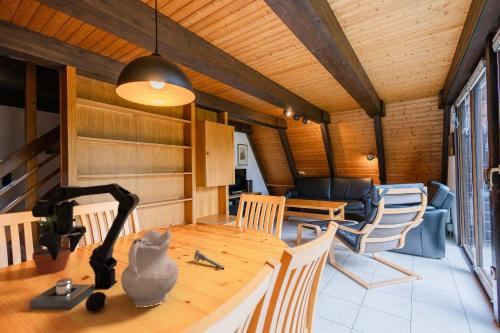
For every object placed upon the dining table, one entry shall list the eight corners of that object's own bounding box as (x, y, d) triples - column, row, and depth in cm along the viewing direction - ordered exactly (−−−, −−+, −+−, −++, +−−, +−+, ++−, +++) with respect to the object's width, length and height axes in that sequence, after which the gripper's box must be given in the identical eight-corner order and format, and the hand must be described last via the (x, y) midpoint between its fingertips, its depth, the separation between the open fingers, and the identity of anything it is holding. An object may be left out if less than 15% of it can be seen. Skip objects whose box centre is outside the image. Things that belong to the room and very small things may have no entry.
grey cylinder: (74, 297, 92) (74, 278, 92) (64, 303, 87) (65, 283, 88) (62, 296, 92) (62, 278, 92) (52, 303, 88) (52, 283, 88)
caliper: (194, 261, 130) (194, 249, 130) (195, 260, 131) (195, 248, 131) (224, 270, 118) (224, 257, 118) (225, 269, 119) (225, 256, 119)
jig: (93, 292, 95) (93, 283, 96) (70, 310, 83) (70, 300, 84) (58, 291, 96) (58, 283, 96) (29, 309, 84) (29, 299, 84)
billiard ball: (89, 307, 85) (90, 289, 86) (108, 305, 87) (109, 287, 87) (82, 317, 80) (82, 298, 80) (102, 314, 81) (103, 296, 81)
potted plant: (28, 279, 106) (29, 209, 106) (35, 267, 119) (36, 205, 119) (70, 272, 114) (71, 207, 114) (73, 261, 127) (74, 203, 127)
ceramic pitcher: (166, 321, 80) (174, 243, 80) (103, 318, 78) (111, 239, 79) (180, 289, 101) (185, 228, 102) (131, 286, 100) (137, 225, 100)
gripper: (62, 212, 109) (61, 248, 109) (23, 221, 91) (22, 264, 90) (87, 213, 109) (86, 248, 109) (53, 222, 91) (52, 264, 90)
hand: (63, 255), depth 100 cm, fingers open, 9 cm apart
